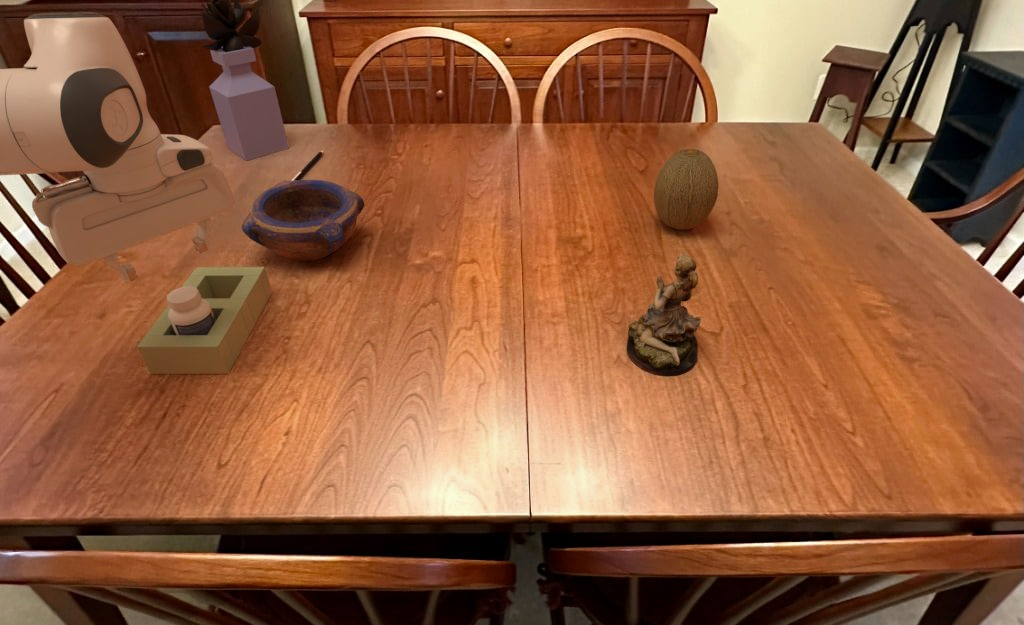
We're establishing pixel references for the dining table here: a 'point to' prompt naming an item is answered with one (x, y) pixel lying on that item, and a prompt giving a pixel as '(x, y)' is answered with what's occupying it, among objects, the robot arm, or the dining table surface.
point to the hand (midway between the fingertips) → (168, 264)
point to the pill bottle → (189, 312)
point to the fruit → (686, 189)
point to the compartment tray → (236, 312)
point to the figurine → (667, 326)
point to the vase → (242, 83)
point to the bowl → (303, 218)
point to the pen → (308, 166)
